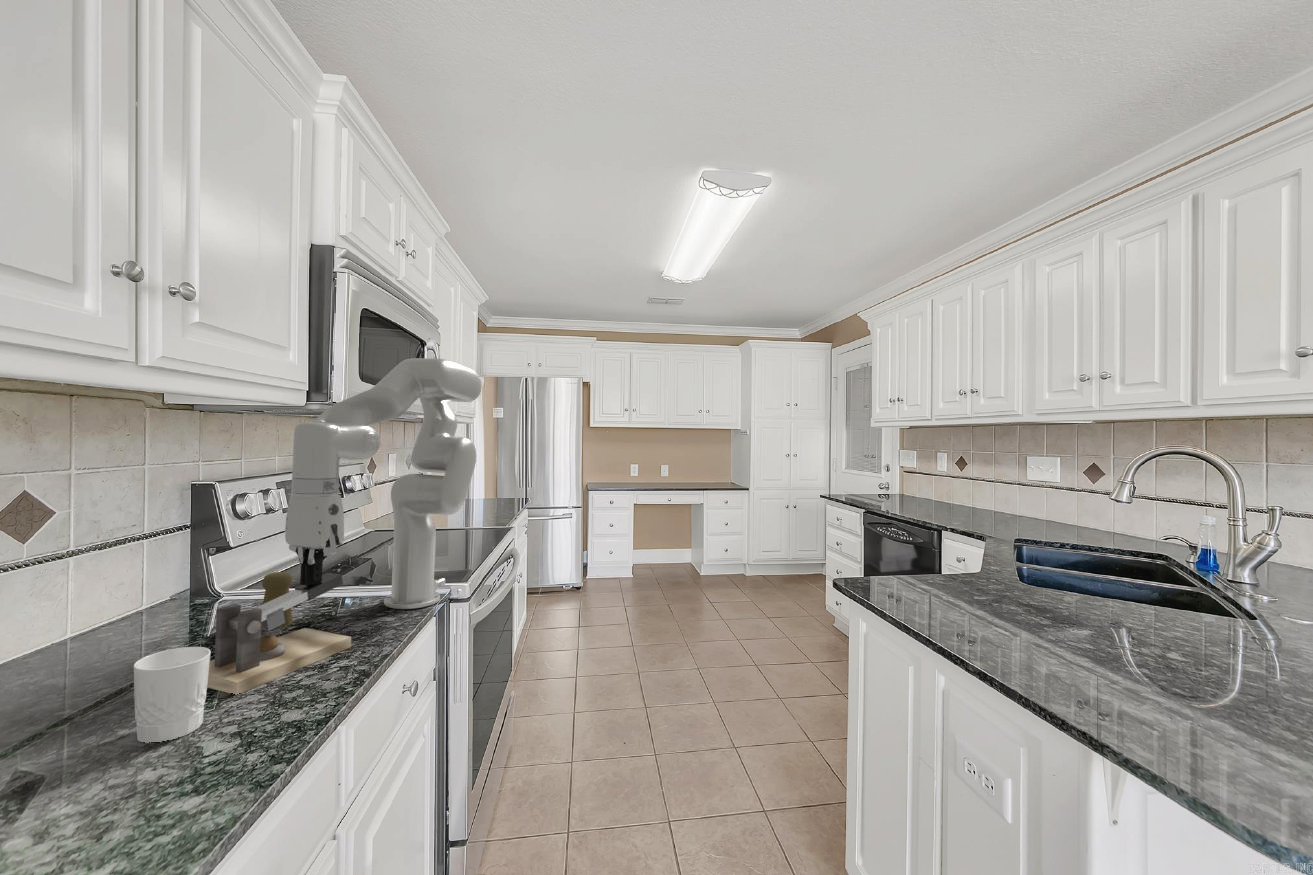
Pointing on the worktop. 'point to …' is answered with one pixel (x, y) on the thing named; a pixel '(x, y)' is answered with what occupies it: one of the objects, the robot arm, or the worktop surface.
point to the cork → (278, 591)
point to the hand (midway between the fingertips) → (311, 583)
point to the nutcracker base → (263, 651)
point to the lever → (292, 601)
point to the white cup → (170, 693)
